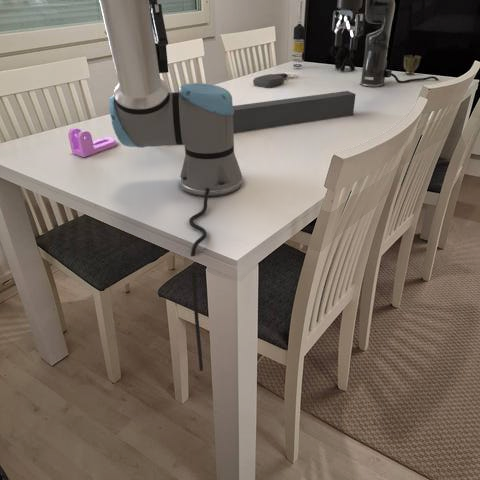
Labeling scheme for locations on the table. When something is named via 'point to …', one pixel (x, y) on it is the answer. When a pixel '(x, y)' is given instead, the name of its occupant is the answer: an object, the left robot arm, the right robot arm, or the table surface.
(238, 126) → the bar
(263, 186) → the table surface
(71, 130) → the bracket
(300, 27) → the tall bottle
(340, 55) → the black irregular legged piece
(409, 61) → the cup
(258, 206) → the table surface
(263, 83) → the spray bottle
